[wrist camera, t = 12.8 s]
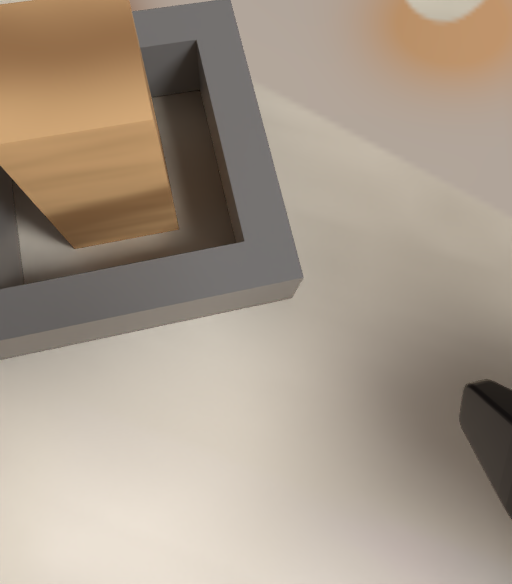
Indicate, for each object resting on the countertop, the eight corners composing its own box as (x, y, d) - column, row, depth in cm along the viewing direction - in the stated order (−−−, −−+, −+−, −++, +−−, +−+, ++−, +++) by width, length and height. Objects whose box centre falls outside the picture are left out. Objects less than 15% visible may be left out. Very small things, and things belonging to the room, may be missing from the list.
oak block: (179, 229, 23) (152, 119, 15) (74, 249, 23) (-17, 146, 14) (160, 139, 25) (126, -12, 16) (60, 155, 24) (-32, 8, 15)
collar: (291, 298, 23) (303, 277, 20) (-14, 362, 21) (-59, 352, 18) (229, 52, 26) (229, -2, 23) (-41, 92, 24) (-84, 40, 21)
